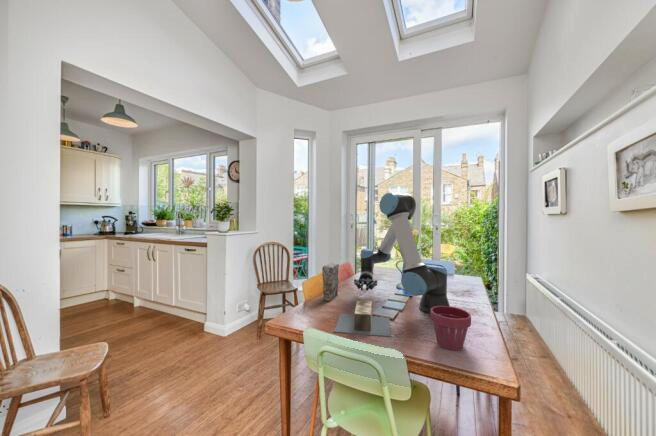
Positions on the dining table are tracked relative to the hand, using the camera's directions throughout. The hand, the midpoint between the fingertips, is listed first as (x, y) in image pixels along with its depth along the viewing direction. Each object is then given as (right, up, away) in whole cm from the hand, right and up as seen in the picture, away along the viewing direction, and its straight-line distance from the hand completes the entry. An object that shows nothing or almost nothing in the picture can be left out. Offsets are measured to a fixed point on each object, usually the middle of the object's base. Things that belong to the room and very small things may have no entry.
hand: (364, 290), depth 129 cm
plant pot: (+30, -14, -26) cm, 42 cm away
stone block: (-16, -13, +30) cm, 36 cm away
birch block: (0, -9, +3) cm, 9 cm away
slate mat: (-1, -13, -8) cm, 15 cm away
